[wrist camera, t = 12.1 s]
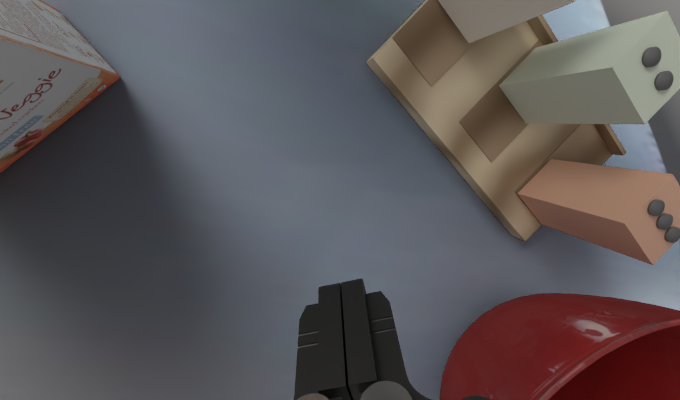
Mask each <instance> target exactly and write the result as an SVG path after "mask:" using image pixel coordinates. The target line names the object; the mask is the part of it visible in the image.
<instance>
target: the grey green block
mask: <svg viewBox="0 0 680 400" xmlns="http://www.w3.org/2000/svg"><path fill="white" fill-rule="evenodd" d="M499 87H500V88H501V90H502V91H503V92H504V94H505V95H506V97H507V98H508V99H509V101H510V102H511V104H512V105H513V106H514V108H515V109H516V111H517V112H518V113H519V115H520V116H521V118H522V119H523V120H524V122H525V123H526V124H645V123H646V122H647V121H648V120H649V119H650V118H651V117H652V116H653V115H654V114H655V113H656V112H657V111H658V110H659V109H660V108H661V107H662V106H663V105H664V104H665V103H666V102H667V101H668V100H669V99H670V98H671V97H672V96H673V95H674V94H675V93H676V92H677V91H678V90H679V89H680V37H679V35H678V32H677V30H676V28H675V26H674V24H673V22H672V20H671V18H670V16H669V13H668V11H666V12H662V13H658V14H654V15H651V16H647V17H644V18H640V19H637V20H633V21H629V22H626V23H623V24H619V25H615V26H612V27H608V28H605V29H601V30H597V31H594V32H590V33H587V34H583V35H580V36H576V37H572V38H569V39H565V40H562V41H558V42H555V43H551V44H548V45H544V46H540V47H537V48H535V49H534V50H533V51H532V52H531V53H530V54H529V55H528V56H527V57H526V58H525V59H524V60H523V61H522V62H521V63H520V64H519V65H518V66H517V67H516V68H515V69H514V70H513V72H512V73H511V74H510V75H509V76H508V77H507V78H506V79H505V80H504V81H503V82H502V83H501V84H500V85H499Z"/></svg>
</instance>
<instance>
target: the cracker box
mask: <svg viewBox="0 0 680 400" xmlns="http://www.w3.org/2000/svg"><path fill="white" fill-rule="evenodd" d="M119 78H120V76H119V75H118V74H117V73H116V72H115V71H114V70H113V69H112V68H111V66H110V65H109V64H108V63H107V62H106V61H105V60H104V59H103V58H102V57H101V56H100V55H99V54H98V53H97V51H96V50H95V49H94V48H93V47H92V46H91V45H90V44H89V43H88V42H87V41H86V40H85V39H84V38H83V37H82V36H81V34H80V33H79V32H78V31H77V30H76V29H75V28H74V27H73V26H72V25H71V24H70V23H69V22H68V21H67V20H66V18H65V17H64V16H63V15H62V14H61V13H60V12H59V11H58V10H56V9H55V8H53V7H51V6H50V5H48V4H46V3H44V2H43V1H41V0H0V173H1V172H3V171H4V170H5V169H6V168H8V167H9V166H10V165H11V164H12V163H14V162H15V161H16V160H18V159H19V158H20V157H21V156H23V155H24V154H25V153H26V152H28V151H29V150H30V149H31V148H33V147H34V146H35V145H36V144H38V143H39V142H40V141H42V140H43V139H44V138H45V137H47V136H48V135H49V134H50V133H52V132H53V131H54V130H55V129H57V128H58V127H59V126H60V125H62V124H63V123H64V122H65V121H67V120H68V119H69V118H70V117H72V116H73V115H74V114H75V113H77V112H78V111H79V110H81V109H82V108H83V107H84V106H86V105H87V104H88V103H89V102H91V101H92V100H93V99H94V98H96V97H97V96H98V95H99V94H101V93H102V92H103V91H105V90H106V89H107V88H108V87H110V86H111V85H112V84H113V83H115V82H116V81H117V80H118V79H119Z"/></svg>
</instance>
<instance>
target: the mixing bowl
mask: <svg viewBox="0 0 680 400" xmlns="http://www.w3.org/2000/svg"><path fill="white" fill-rule="evenodd" d="M469 396H483V397H486V398H489V399H491V400H680V311H678V310H674V309H670V308H666V307H661V306H656V305H651V304H646V303H642V302H636V301H630V300H624V299H618V298H611V297H601V296H591V295H579V294H559V293H551V294H535V295H529V296H523V297H519V298H515V299H513V300H510V301H507V302H505V303H502V304H500V305H498V306H496V307H494V308H492V309H491V310H489V311H487V312H486V313H484V314H483V315H482V316H480V317H479V318H478V319H477V320H476V321H475V322H474V323H472V324H471V325H470V326H469V327H468V329H467V330H466V331H465V332H464V333H463V335H462V336H461V337H460V338H459V340H458V341H457V343H456V345H455V346H454V348H453V350H452V352H451V354H450V356H449V358H448V361H447V364H446V366H445V369H444V372H443V376H442V382H441V389H440V400H461V399H463V398H465V397H469Z"/></svg>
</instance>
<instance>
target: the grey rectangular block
mask: <svg viewBox="0 0 680 400" xmlns="http://www.w3.org/2000/svg"><path fill="white" fill-rule="evenodd" d="M438 1H439V2H440V4H441V5H442V7H443V8H444V9H445V11H446V12H447V14H448V15H449V16H450V18H451V19H452V21H453V22H454V23H455V25H456V26H457V28H458V29H459V31H460V32H461V33H462V35H463V36H464V38H465V39H466V40H467V42H468V43H471V42H474V41H476V40H479V39H481V38H484V37H487V36H489V35H492V34H494V33H497V32H499V31H502V30H504V29H507V28H509V27H512V26H514V25H517V24H519V23H522V22H524V21H527V20H530V19H532V18H535V17H537V16H540V15H542V14H545V13H547V12H550V11H552V10H555V9H557V8H560V7H562V6H565V5H568V4H570V3H573V2H575V1H576V0H438Z"/></svg>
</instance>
